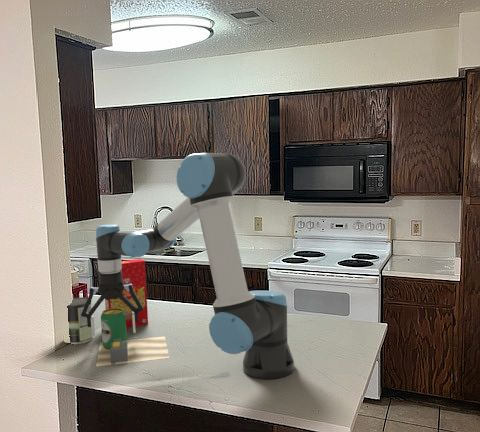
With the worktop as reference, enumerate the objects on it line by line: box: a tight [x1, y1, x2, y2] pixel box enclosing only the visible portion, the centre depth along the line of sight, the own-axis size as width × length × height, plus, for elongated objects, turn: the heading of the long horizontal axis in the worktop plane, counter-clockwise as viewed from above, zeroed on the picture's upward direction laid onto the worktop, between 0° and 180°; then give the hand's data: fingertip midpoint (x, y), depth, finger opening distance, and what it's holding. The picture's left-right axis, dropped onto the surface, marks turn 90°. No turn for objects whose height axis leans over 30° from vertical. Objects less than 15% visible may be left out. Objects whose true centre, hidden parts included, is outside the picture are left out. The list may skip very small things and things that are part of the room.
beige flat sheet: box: [95, 336, 170, 368], centre depth 157 cm, size 20×22×1 cm
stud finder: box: [110, 341, 128, 363], centre depth 151 cm, size 7×5×5 cm
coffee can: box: [67, 297, 94, 345], centre depth 172 cm, size 10×10×14 cm
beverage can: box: [100, 308, 128, 350], centre depth 161 cm, size 8×8×12 cm
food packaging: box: [104, 258, 149, 329], centre depth 185 cm, size 15×5×25 cm, turn 120°
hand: (114, 334), depth 161 cm, fingers open, 13 cm apart
